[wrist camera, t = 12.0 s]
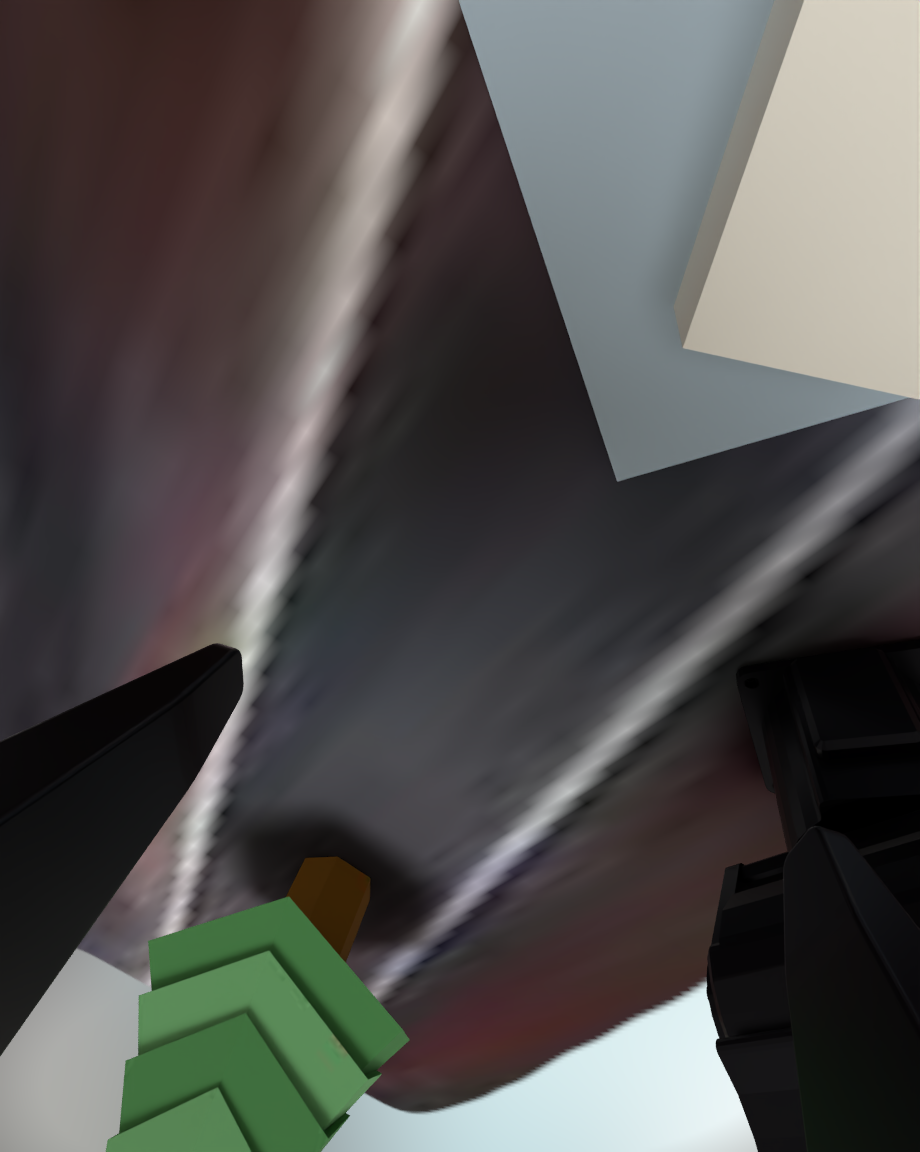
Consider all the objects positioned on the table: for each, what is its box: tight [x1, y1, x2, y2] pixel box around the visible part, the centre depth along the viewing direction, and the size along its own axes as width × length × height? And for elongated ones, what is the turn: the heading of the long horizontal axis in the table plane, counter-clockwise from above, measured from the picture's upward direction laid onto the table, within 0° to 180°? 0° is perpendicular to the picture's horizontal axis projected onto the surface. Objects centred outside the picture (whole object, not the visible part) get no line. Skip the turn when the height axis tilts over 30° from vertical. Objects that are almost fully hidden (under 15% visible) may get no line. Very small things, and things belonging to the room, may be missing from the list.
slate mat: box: [459, 0, 910, 482], centre depth 13 cm, size 16×16×1 cm
